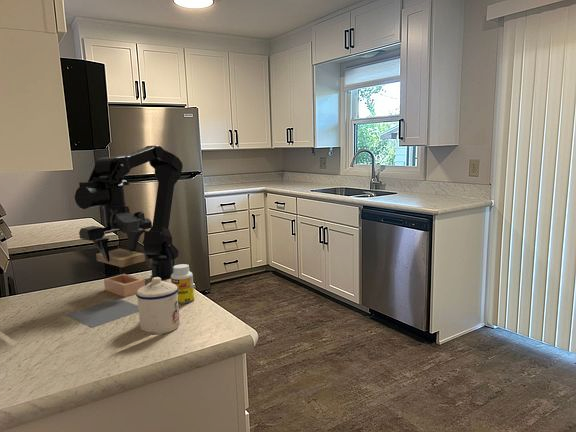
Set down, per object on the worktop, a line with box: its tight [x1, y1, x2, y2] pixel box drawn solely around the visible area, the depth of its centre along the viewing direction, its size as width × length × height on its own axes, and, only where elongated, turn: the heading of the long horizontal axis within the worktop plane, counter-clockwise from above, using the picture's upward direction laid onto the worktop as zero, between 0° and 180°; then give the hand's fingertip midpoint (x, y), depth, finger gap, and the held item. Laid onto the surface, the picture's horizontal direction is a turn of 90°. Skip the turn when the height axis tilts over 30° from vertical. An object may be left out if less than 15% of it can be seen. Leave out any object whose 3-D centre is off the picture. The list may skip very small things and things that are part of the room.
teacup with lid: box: [135, 277, 181, 336], centre depth 96 cm, size 12×9×12 cm
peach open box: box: [103, 273, 146, 298], centre depth 121 cm, size 6×11×4 cm, turn 51°
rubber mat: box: [64, 298, 139, 329], centre depth 105 cm, size 14×14×1 cm
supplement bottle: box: [170, 263, 195, 306], centre depth 110 cm, size 6×6×10 cm
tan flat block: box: [95, 247, 146, 268], centre depth 118 cm, size 7×13×2 cm, turn 52°
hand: (120, 258), depth 118 cm, fingers closed on tan flat block, 7 cm apart
